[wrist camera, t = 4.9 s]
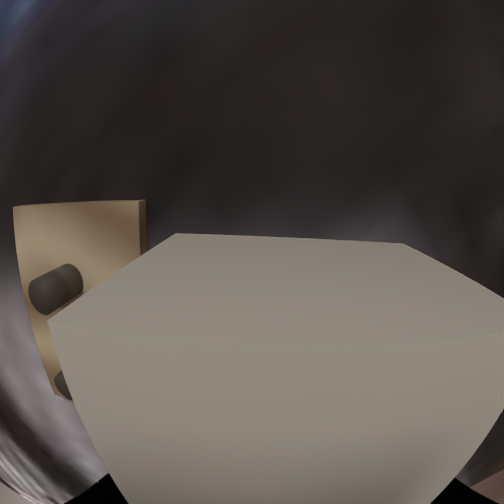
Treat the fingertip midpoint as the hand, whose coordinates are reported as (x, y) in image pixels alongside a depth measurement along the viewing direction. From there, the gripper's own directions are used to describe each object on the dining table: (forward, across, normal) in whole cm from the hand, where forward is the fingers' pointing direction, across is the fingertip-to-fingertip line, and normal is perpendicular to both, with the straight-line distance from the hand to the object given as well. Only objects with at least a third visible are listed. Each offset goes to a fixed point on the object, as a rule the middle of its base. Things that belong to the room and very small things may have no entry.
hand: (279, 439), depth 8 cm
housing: (+1, 0, 0) cm, 1 cm away
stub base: (+8, +12, +1) cm, 15 cm away
